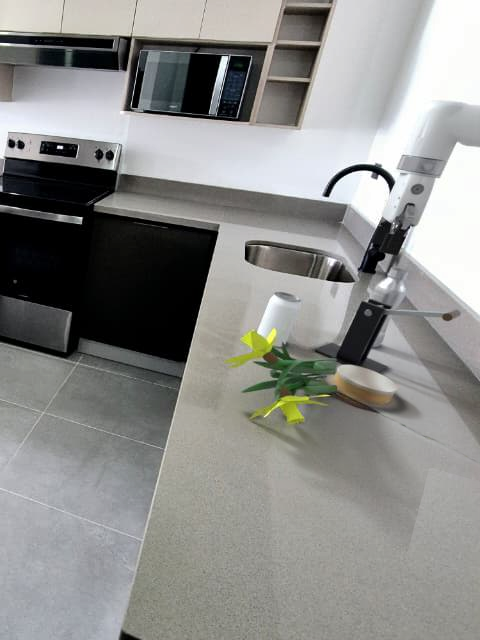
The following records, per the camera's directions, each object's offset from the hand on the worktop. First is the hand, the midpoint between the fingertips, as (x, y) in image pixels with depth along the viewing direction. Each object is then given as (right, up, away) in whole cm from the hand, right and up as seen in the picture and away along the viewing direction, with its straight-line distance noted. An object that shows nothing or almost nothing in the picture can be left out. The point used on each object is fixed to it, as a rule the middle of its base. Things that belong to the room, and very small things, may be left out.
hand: (383, 248), depth 108 cm
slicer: (-3, -25, +7) cm, 26 cm away
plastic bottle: (+9, -22, +18) cm, 29 cm away
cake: (-10, -30, -7) cm, 33 cm away
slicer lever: (+2, -15, -4) cm, 16 cm away
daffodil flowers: (-31, -31, -15) cm, 46 cm away
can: (-19, -21, +11) cm, 30 cm away
